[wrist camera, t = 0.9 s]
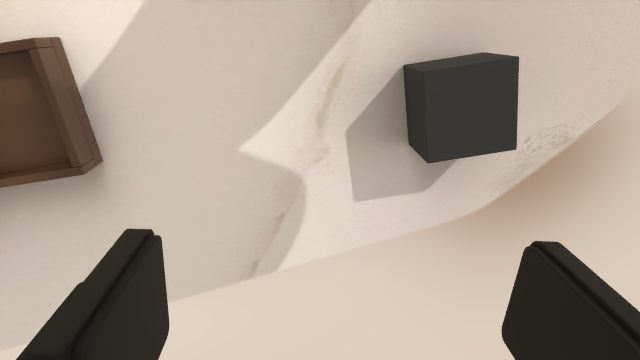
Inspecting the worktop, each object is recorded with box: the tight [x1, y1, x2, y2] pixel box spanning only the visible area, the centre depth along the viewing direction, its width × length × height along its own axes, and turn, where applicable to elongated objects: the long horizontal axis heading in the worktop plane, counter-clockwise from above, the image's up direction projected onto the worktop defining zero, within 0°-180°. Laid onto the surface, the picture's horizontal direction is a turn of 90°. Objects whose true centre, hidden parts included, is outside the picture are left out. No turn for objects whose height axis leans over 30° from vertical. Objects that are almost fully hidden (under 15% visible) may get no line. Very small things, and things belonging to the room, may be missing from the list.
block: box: [403, 53, 519, 163], centre depth 24 cm, size 5×5×4 cm
